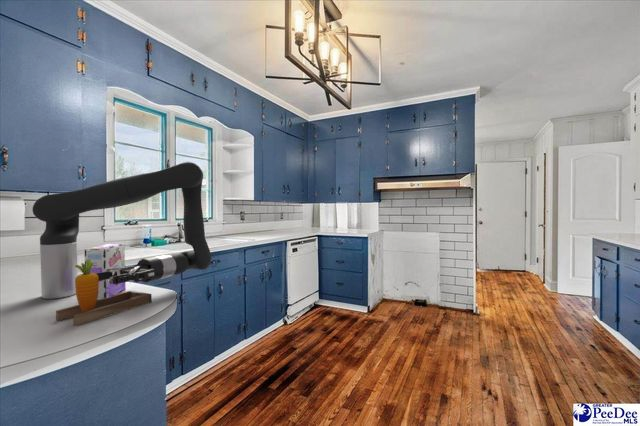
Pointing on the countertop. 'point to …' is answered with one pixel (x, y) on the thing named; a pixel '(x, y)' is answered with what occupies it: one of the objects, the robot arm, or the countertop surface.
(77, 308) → the guide channel
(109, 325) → the countertop surface
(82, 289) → the carrot
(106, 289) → the candy box
